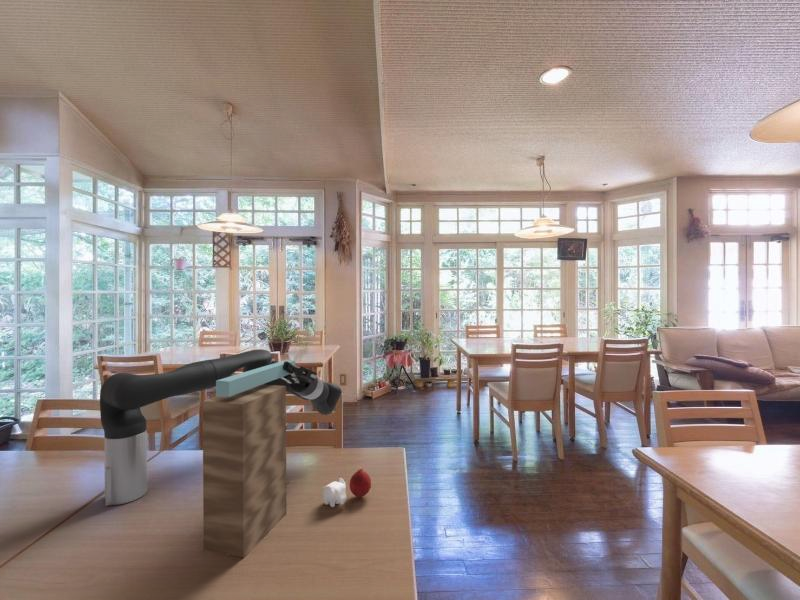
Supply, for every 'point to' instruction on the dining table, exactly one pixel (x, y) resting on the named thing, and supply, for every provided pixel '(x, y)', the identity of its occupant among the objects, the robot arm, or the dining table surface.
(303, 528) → the dining table surface
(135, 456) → the robot arm
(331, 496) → the elephant figurine
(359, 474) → the onion
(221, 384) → the rail
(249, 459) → the pedestal
